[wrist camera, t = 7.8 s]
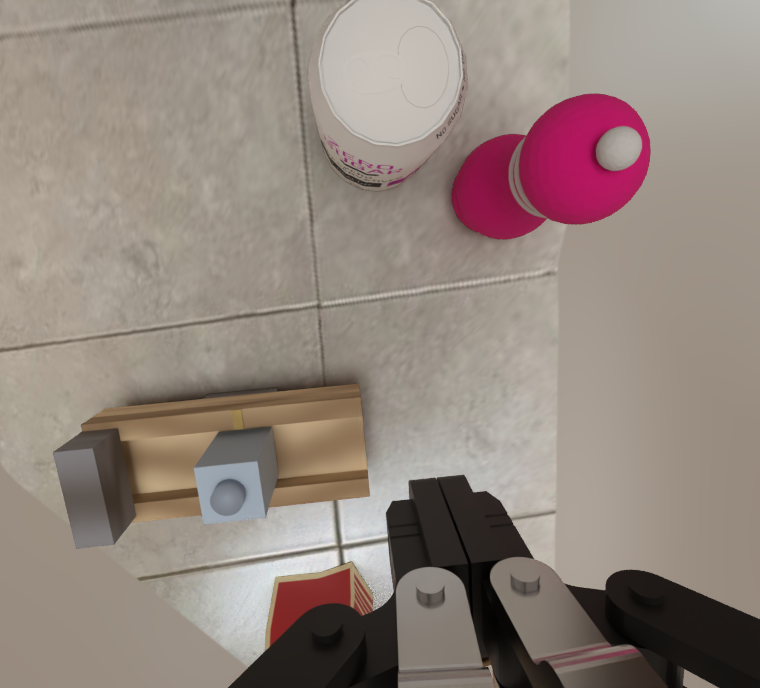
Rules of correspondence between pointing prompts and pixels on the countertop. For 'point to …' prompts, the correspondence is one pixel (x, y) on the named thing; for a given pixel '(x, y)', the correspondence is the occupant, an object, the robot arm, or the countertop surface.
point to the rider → (237, 475)
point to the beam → (189, 442)
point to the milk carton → (315, 596)
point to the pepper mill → (555, 169)
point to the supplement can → (385, 88)
